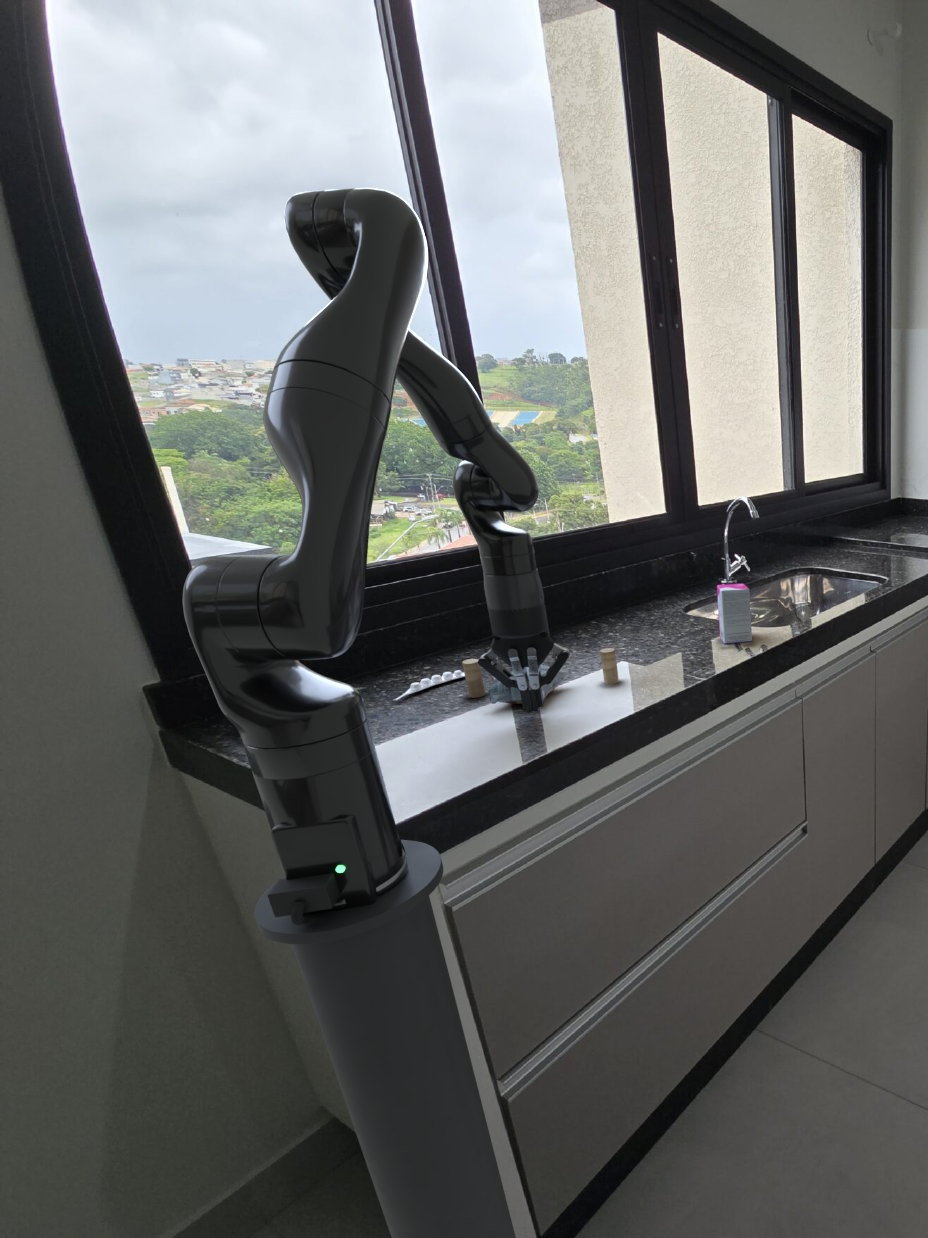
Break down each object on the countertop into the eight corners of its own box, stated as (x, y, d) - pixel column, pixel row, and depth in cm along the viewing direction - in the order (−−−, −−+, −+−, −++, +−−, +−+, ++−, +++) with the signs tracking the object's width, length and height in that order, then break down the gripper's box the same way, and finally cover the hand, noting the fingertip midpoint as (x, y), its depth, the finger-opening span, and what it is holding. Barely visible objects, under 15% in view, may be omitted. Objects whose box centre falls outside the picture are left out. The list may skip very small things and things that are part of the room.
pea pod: (469, 670, 133) (467, 662, 133) (484, 675, 131) (483, 666, 131) (381, 697, 121) (378, 688, 121) (396, 703, 119) (394, 694, 118)
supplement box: (753, 643, 151) (749, 588, 147) (724, 646, 148) (719, 591, 144) (747, 635, 156) (744, 582, 152) (719, 638, 153) (714, 584, 149)
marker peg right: (618, 684, 128) (614, 651, 126) (604, 685, 128) (599, 652, 125) (619, 679, 130) (615, 647, 128) (604, 680, 130) (600, 648, 128)
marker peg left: (484, 697, 122) (477, 662, 120) (467, 698, 121) (460, 664, 119) (486, 691, 124) (480, 658, 122) (470, 693, 123) (463, 659, 121)
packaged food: (572, 684, 128) (568, 657, 126) (544, 711, 117) (538, 682, 115) (522, 685, 127) (516, 658, 126) (488, 712, 116) (481, 683, 115)
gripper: (459, 610, 103) (482, 724, 109) (562, 604, 107) (578, 714, 113) (470, 598, 109) (491, 705, 115) (567, 592, 113) (582, 696, 119)
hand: (534, 709), depth 114 cm, fingers closed
